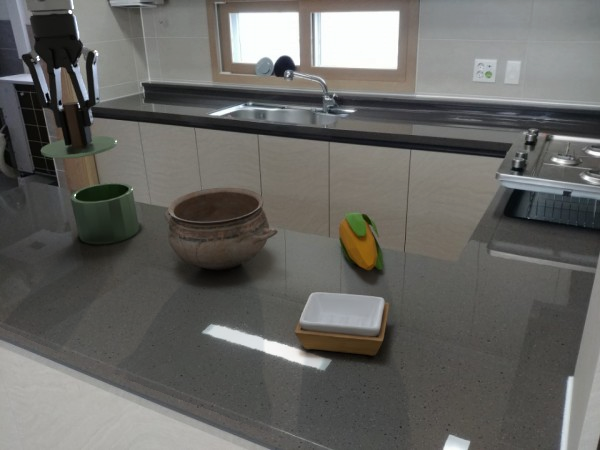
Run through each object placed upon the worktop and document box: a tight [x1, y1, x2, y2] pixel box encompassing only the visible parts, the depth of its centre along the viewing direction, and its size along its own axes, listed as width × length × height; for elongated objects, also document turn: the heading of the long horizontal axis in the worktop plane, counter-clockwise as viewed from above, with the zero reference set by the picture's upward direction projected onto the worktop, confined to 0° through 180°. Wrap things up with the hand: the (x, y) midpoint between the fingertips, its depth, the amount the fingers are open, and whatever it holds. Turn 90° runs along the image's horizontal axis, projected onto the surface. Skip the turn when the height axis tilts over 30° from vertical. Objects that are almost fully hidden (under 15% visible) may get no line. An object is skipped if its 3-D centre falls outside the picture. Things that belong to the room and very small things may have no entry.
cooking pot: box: [164, 187, 278, 272], centre depth 101 cm, size 25×19×12 cm
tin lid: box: [40, 101, 118, 159], centre depth 102 cm, size 14×14×9 cm
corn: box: [338, 212, 384, 271], centre depth 101 cm, size 7×8×20 cm
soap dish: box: [294, 291, 390, 357], centre depth 79 cm, size 12×10×5 cm
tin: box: [70, 182, 140, 246], centre depth 117 cm, size 13×13×10 cm
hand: (78, 143), depth 104 cm, fingers closed on tin lid, 3 cm apart
